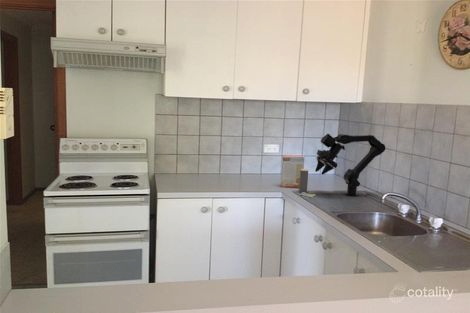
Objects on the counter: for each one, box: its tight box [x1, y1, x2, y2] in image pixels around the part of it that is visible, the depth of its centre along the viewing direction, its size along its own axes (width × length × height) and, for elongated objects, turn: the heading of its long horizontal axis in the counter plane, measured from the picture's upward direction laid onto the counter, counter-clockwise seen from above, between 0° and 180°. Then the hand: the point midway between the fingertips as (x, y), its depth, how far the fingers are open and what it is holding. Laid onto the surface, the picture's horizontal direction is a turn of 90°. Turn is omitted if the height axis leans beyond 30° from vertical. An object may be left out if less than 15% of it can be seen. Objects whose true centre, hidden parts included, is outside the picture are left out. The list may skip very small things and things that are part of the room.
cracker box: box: [280, 154, 305, 189], centre depth 279 cm, size 14×6×21 cm, turn 92°
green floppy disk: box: [299, 192, 316, 198], centre depth 257 cm, size 7×8×1 cm
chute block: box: [298, 168, 309, 193], centre depth 265 cm, size 4×4×14 cm
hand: (318, 172), depth 258 cm, fingers open, 9 cm apart
